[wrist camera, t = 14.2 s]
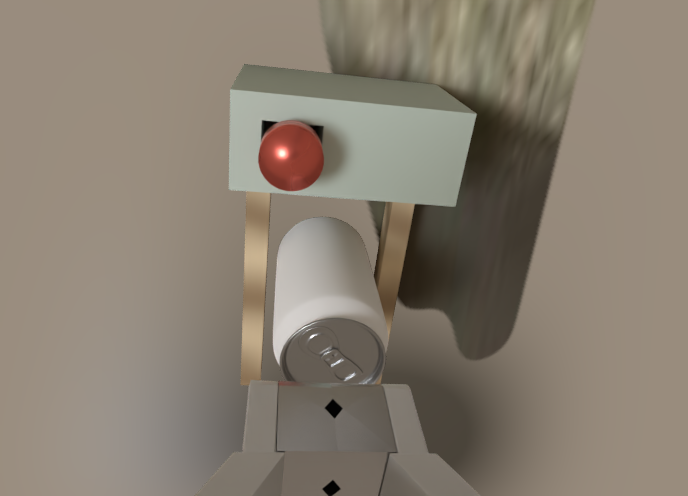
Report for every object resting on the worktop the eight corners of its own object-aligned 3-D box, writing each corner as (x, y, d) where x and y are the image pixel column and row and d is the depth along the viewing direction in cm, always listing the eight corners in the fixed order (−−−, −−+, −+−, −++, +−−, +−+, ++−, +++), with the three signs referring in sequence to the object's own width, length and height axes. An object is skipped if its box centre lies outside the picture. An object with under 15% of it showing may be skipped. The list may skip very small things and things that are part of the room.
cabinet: (244, 64, 31) (230, 89, 24) (436, 84, 32) (476, 113, 25) (242, 145, 33) (228, 189, 26) (421, 160, 35) (455, 206, 28)
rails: (249, 167, 34) (247, 178, 32) (411, 180, 35) (417, 191, 34) (242, 367, 42) (240, 384, 40) (375, 371, 43) (379, 388, 41)
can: (332, 196, 35) (349, 289, 25) (382, 261, 38) (416, 370, 28) (258, 246, 37) (245, 355, 26) (311, 306, 39) (319, 426, 29)
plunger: (266, 92, 29) (259, 125, 23) (319, 97, 30) (327, 131, 23) (264, 143, 31) (256, 188, 24) (314, 147, 31) (320, 193, 24)
